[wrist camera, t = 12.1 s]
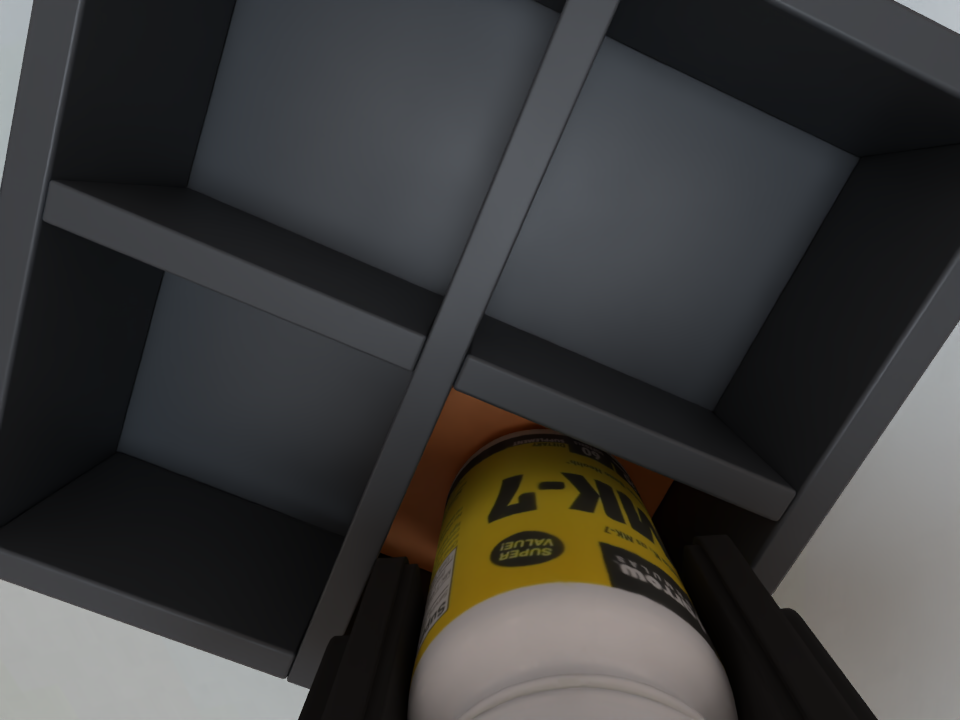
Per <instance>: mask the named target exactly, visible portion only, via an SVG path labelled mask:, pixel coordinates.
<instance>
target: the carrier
mask: <svg viewBox="0 0 960 720" xmlns="http://www.w3.org/2000/svg"><path fill="white" fill-rule="evenodd" d="M959 321H960V34H958V33H956V32H954V31H952V30H950V29H949V28H947V27H945V26H943V25H941V24H939V23H937V22H935V21H933V20H931V19H929V18H927V17H925V16H923V15H921V14H919V13H917V12H915V11H913V10H911V9H910V8H908V7H906V6H904V5H902V4H900V3H898V2H896V1H894V0H34V1H33V6H32V12H31V18H30V23H29V29H28V35H27V40H26V46H25V52H24V57H23V63H22V69H21V75H20V80H19V86H18V92H17V97H16V103H15V109H14V114H13V120H12V126H11V131H10V137H9V143H8V148H7V154H6V160H5V165H4V171H3V177H2V183H1V188H0V579H2V580H4V581H7V582H10V583H13V584H16V585H19V586H21V587H24V588H27V589H30V590H33V591H36V592H38V593H41V594H44V595H47V596H50V597H53V598H55V599H58V600H61V601H64V602H67V603H70V604H72V605H75V606H78V607H81V608H84V609H86V610H89V611H92V612H95V613H98V614H101V615H103V616H106V617H109V618H112V619H115V620H118V621H120V622H123V623H126V624H129V625H132V626H135V627H137V628H140V629H143V630H146V631H149V632H152V633H154V634H157V635H160V636H163V637H166V638H169V639H171V640H174V641H177V642H180V643H183V644H186V645H188V646H191V647H194V648H197V649H200V650H203V651H205V652H208V653H211V654H214V655H217V656H219V657H222V658H225V659H228V660H231V661H234V662H236V663H239V664H242V665H245V666H248V667H251V668H253V669H256V670H259V671H262V672H265V673H268V674H270V675H273V676H276V677H279V678H282V679H285V678H286V677H287V676H288V677H287V681H288V682H291V683H294V684H296V685H299V686H302V687H305V688H308V689H310V688H311V686H312V683H313V680H314V678H315V675H316V673H317V670H318V668H319V665H320V662H321V660H322V657H323V655H324V652H325V650H326V647H327V645H328V643H329V641H330V639H331V638H332V637H334V636H343V635H350V634H351V631H352V628H353V625H354V622H355V619H356V617H357V614H358V611H359V608H360V605H361V602H362V599H363V596H364V593H365V591H366V588H367V585H368V582H369V579H370V576H371V573H372V570H373V567H374V565H375V562H376V560H377V559H378V558H391V557H405V556H406V557H407V558H408V561H409V564H418V566H419V570H420V576H421V583H422V590H423V596H424V603H425V606H426V601H427V596H428V591H429V586H430V581H431V576H432V571H433V566H434V561H435V556H436V551H437V546H438V540H439V535H440V530H441V526H442V521H443V515H444V510H445V505H446V500H447V497H448V494H449V491H450V488H451V485H452V483H453V481H454V479H455V477H456V475H457V474H458V472H459V471H460V469H461V468H462V467H463V465H464V464H465V463H466V462H467V460H468V459H469V458H470V457H471V456H472V455H473V454H475V453H476V452H477V451H478V450H479V449H481V448H482V447H483V446H485V445H486V444H488V443H490V442H491V441H493V440H495V439H497V438H499V437H502V436H504V435H507V434H510V433H514V432H518V431H523V430H531V429H551V430H554V431H556V432H558V433H561V434H563V435H566V436H568V437H571V438H573V439H575V440H578V441H580V442H583V443H585V444H588V445H590V446H593V447H595V448H597V449H600V450H602V451H605V452H607V453H610V454H612V455H613V456H614V457H615V458H616V459H617V460H618V462H619V463H620V464H621V465H622V466H623V467H624V469H625V470H626V472H627V473H628V475H629V477H630V478H631V480H632V482H633V484H634V485H635V487H636V489H637V491H638V493H639V495H640V497H641V499H642V502H643V504H644V506H645V508H646V509H647V511H648V513H649V516H650V518H651V520H652V522H653V524H654V526H655V528H656V530H657V532H658V534H659V536H660V538H661V540H662V543H663V545H664V547H665V549H666V551H667V553H668V555H669V557H670V559H671V560H672V562H673V564H674V566H675V568H676V570H677V573H678V575H679V577H680V579H681V581H682V583H683V549H684V546H685V545H692V544H693V539H694V537H696V536H711V535H728V536H729V538H730V539H731V540H732V541H733V543H734V544H735V546H736V547H737V549H738V550H739V551H740V553H741V554H742V556H743V557H744V558H745V560H746V561H747V563H748V564H749V565H750V567H751V568H752V570H753V571H754V572H755V574H756V575H757V577H758V578H759V580H760V581H761V582H762V584H763V585H764V587H765V588H766V589H767V591H768V592H769V594H770V595H771V596H772V594H773V593H774V591H775V590H776V589H777V587H778V586H779V584H780V583H781V581H782V580H783V578H784V577H785V575H786V574H787V572H788V571H789V570H790V568H791V567H792V565H793V564H794V562H795V561H796V559H797V558H798V556H799V555H800V553H801V552H802V550H803V549H804V548H805V546H806V545H807V543H808V542H809V540H810V539H811V537H812V536H813V534H814V533H815V531H816V530H817V528H818V527H819V526H820V524H821V523H822V521H823V520H824V518H825V517H826V515H827V514H828V512H829V511H830V509H831V508H832V507H833V505H834V504H835V502H836V501H837V499H838V498H839V496H840V495H841V493H842V492H843V490H844V489H845V487H846V486H847V485H848V483H849V482H850V480H851V479H852V477H853V476H854V474H855V473H856V471H857V470H858V468H859V467H860V466H861V464H862V463H863V461H864V460H865V458H866V457H867V455H868V454H869V452H870V451H871V449H872V448H873V446H874V445H875V444H876V442H877V441H878V439H879V438H880V436H881V435H882V433H883V432H884V430H885V429H886V427H887V426H888V425H889V423H890V422H891V420H892V419H893V417H894V416H895V414H896V413H897V411H898V410H899V408H900V407H901V405H902V404H903V403H904V401H905V400H906V398H907V397H908V395H909V394H910V392H911V391H912V389H913V388H914V386H915V385H916V383H917V382H918V381H919V379H920V378H921V376H922V375H923V373H924V372H925V370H926V369H927V367H928V366H929V364H930V363H931V362H932V360H933V359H934V357H935V356H936V354H937V353H938V351H939V350H940V348H941V347H942V345H943V344H944V342H945V341H946V340H947V338H948V337H949V335H950V334H951V332H952V331H953V329H954V328H955V326H956V325H957V323H958V322H959Z"/></svg>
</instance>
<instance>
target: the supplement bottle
mask: <svg viewBox="0 0 960 720" xmlns="http://www.w3.org/2000/svg"><path fill="white" fill-rule="evenodd" d="M407 720H738V715H737V710H736V705H735V700H734V695H733V692H732V689H731V686H730V683H729V679H728V677H727V674H726V671H725V669H724V666H723V664H722V662H721V660H720V658H719V656H718V654H717V651H716V649H715V647H714V645H713V643H712V641H711V639H710V637H709V635H708V633H707V631H706V630H705V628H704V626H703V624H702V622H701V620H700V618H699V616H698V614H697V611H696V609H695V607H694V605H693V603H692V601H691V599H690V597H689V595H688V593H687V591H686V589H685V587H684V585H683V583H682V581H681V579H680V577H679V575H678V573H677V570H676V568H675V566H674V564H673V562H672V560H671V559H670V557H669V555H668V553H667V551H666V549H665V547H664V545H663V543H662V540H661V538H660V536H659V534H658V532H657V530H656V528H655V526H654V524H653V522H652V520H651V518H650V516H649V513H648V511H647V509H646V508H645V506H644V504H643V502H642V499H641V497H640V495H639V493H638V491H637V489H636V487H635V485H634V484H633V482H632V480H631V478H630V477H629V475H628V473H627V472H626V470H625V469H624V467H623V466H622V465H621V464H620V463H619V462H618V460H617V459H616V458H615V457H614V456H613V455H612V454H610V453H607V452H605V451H602V450H600V449H597V448H595V447H593V446H590V445H588V444H585V443H583V442H580V441H578V440H575V439H573V438H571V437H568V436H566V435H563V434H561V433H558V432H556V431H554V430H551V429H531V430H523V431H518V432H514V433H510V434H507V435H504V436H502V437H499V438H497V439H495V440H493V441H491V442H490V443H488V444H486V445H485V446H483V447H482V448H481V449H479V450H478V451H477V452H476V453H475V454H473V455H472V456H471V457H470V458H469V459H468V460H467V462H466V463H465V464H464V465H463V467H462V468H461V469H460V471H459V472H458V474H457V475H456V477H455V479H454V481H453V483H452V485H451V488H450V491H449V494H448V497H447V500H446V505H445V510H444V515H443V521H442V526H441V530H440V535H439V540H438V546H437V551H436V556H435V561H434V566H433V571H432V576H431V581H430V586H429V591H428V596H427V601H426V606H425V613H424V617H423V622H422V627H421V632H420V638H419V642H418V647H417V653H416V658H415V663H414V668H413V672H412V677H411V683H410V690H409V699H408V711H407Z"/></svg>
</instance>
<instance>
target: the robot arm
mask: <svg viewBox="0 0 960 720" xmlns="http://www.w3.org/2000/svg"><path fill="white" fill-rule="evenodd" d="M683 585H684V587H685V589H686V591H687V593H688V595H689V597H690V599H691V601H692V603H693V605H694V607H695V609H696V611H697V614H698V616H699V618H700V620H701V622H702V624H703V626H704V628H705V630H706V631H707V633H708V635H709V637H710V639H711V641H712V643H713V645H714V647H715V649H716V651H717V654H718V656H719V658H720V660H721V662H722V664H723V666H724V669H725V671H726V674H727V677H728V679H729V683H730V686H731V689H732V692H733V695H734V700H735V705H736V710H737V715H738V720H878V719H877V718H876V717H875V715H874V714H873V713H872V711H871V710H870V709H869V707H868V706H867V704H866V703H865V702H864V700H863V699H862V698H861V696H860V695H859V694H858V692H857V691H856V690H855V688H854V687H853V686H852V684H851V683H850V682H849V680H848V679H847V678H846V676H845V675H844V674H843V672H842V671H841V670H840V668H839V667H838V666H837V664H836V663H835V662H834V660H833V659H832V658H831V656H830V655H829V654H828V652H827V651H826V650H825V648H824V647H823V646H822V644H821V643H820V641H819V640H818V639H817V637H816V636H815V635H814V633H813V632H812V631H811V629H810V628H809V627H808V625H807V624H806V623H805V621H804V620H803V619H802V617H801V616H800V615H799V614H798V613H797V612H796V611H794V610H792V609H790V608H785V609H780V608H779V606H778V605H777V604H776V602H775V601H774V599H773V598H772V596H771V595H770V594H769V592H768V591H767V589H766V588H765V587H764V585H763V584H762V582H761V581H760V580H759V578H758V577H757V575H756V574H755V572H754V571H753V570H752V568H751V567H750V565H749V564H748V563H747V561H746V560H745V558H744V557H743V556H742V554H741V553H740V551H739V550H738V549H737V547H736V546H735V544H734V543H733V541H732V540H731V539H730V538H729V536H728V535H711V536H696V537H694V539H693V544H692V545H685V546H684V549H683ZM424 613H425V603H424V596H423V590H422V583H421V576H420V570H419V566H418V564H409V561H408V558H407V557H406V556H405V557H391V558H378V559H377V560H376V562H375V565H374V567H373V570H372V573H371V576H370V579H369V582H368V585H367V588H366V591H365V593H364V596H363V599H362V602H361V605H360V608H359V611H358V614H357V617H356V619H355V622H354V625H353V628H352V631H351V634H350V635H343V636H334V637H332V638H331V639H330V641H329V643H328V645H327V647H326V650H325V652H324V655H323V657H322V660H321V662H320V665H319V668H318V670H317V673H316V675H315V678H314V680H313V683H312V686H311V688H310V691H309V693H308V696H307V698H306V701H305V703H304V706H303V709H302V711H301V714H300V716H299V719H298V720H407V711H408V699H409V690H410V683H411V677H412V672H413V668H414V663H415V658H416V653H417V647H418V642H419V638H420V632H421V627H422V622H423V617H424Z"/></svg>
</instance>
